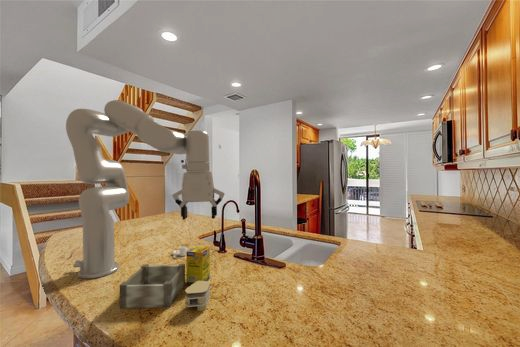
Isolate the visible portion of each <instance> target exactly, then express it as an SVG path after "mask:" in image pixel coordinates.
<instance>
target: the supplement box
mask: <svg viewBox="0 0 520 347" xmlns="http://www.w3.org/2000/svg"><path fill="white" fill-rule="evenodd" d="M210 247H211V246H202V245H201V246H200V245H194V246H193V247H192V248H190V249H189V250H188V249H187V250H188V251H187V250H186V255H185V257H186V258H185V260H186V263H185V274H186V285H190V286H191V285H192V284H194V283H195V282H197V281H209V279H210V277H211V273H210V272H211V270H210V269H211V266H210V264H211V260H210V259H211V254H210V251H211V250H210V249H211V248H210Z"/></svg>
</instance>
